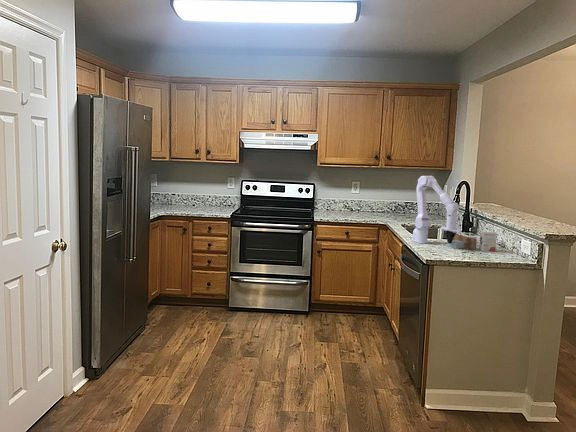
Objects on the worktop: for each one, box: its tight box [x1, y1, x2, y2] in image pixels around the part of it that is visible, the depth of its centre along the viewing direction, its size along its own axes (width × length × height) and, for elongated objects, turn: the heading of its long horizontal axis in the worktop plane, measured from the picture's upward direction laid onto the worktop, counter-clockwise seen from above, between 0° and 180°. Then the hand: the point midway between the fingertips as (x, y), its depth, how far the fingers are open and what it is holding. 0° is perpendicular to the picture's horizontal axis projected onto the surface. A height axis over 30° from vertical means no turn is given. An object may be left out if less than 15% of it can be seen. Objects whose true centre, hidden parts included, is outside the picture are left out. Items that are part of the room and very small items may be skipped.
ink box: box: [478, 230, 498, 252], centre depth 295 cm, size 9×5×12 cm, turn 92°
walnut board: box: [453, 233, 478, 251], centre depth 304 cm, size 20×3×7 cm, turn 28°
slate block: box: [446, 240, 465, 250], centre depth 301 cm, size 7×8×4 cm
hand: (449, 243), depth 299 cm, fingers closed
